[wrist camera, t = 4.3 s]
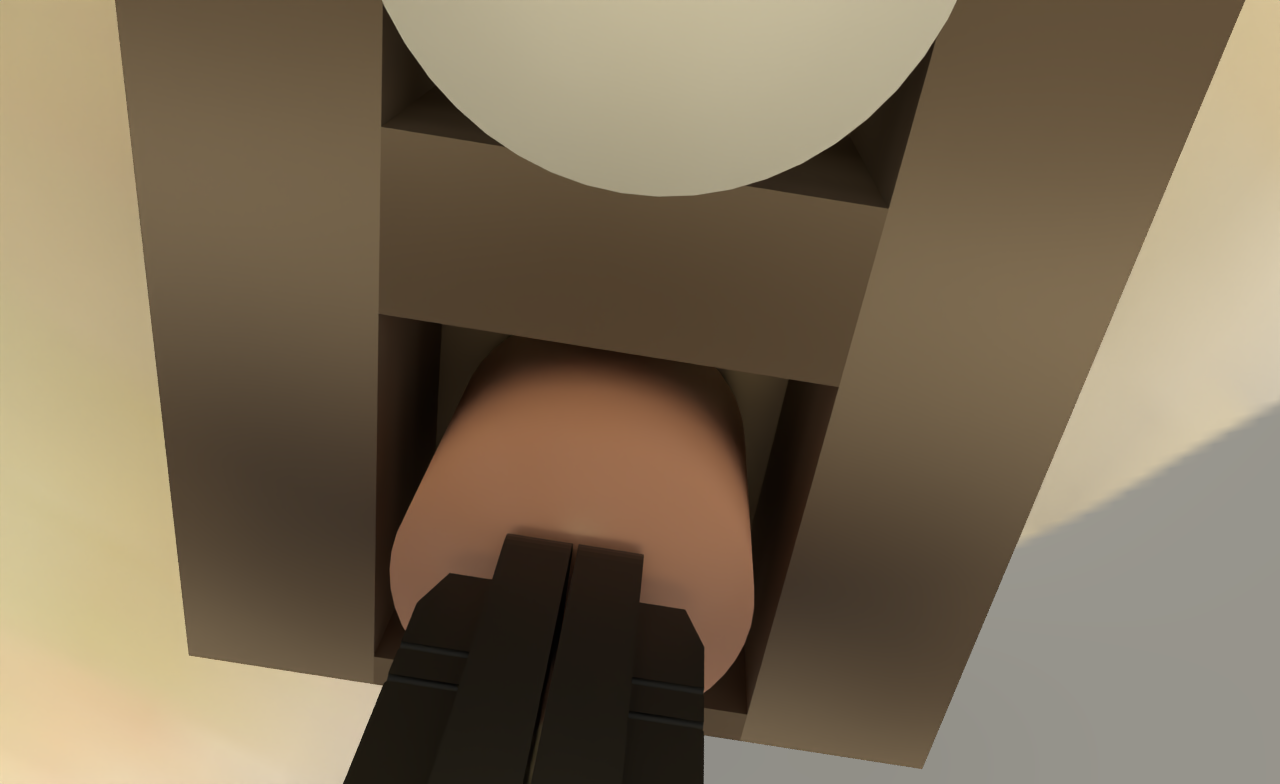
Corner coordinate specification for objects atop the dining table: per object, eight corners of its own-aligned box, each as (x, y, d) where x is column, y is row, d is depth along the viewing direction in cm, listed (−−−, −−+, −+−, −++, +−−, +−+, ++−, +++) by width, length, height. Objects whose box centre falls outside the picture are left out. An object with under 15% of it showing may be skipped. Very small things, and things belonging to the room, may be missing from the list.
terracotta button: (465, 290, 12) (392, 413, 9) (772, 339, 12) (790, 475, 10) (450, 537, 14) (386, 700, 11) (716, 578, 14) (717, 751, 11)
